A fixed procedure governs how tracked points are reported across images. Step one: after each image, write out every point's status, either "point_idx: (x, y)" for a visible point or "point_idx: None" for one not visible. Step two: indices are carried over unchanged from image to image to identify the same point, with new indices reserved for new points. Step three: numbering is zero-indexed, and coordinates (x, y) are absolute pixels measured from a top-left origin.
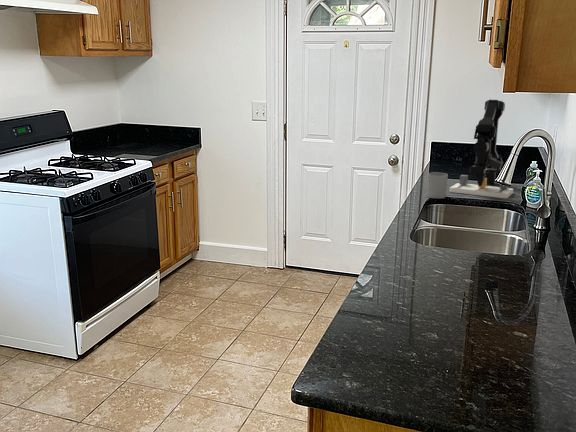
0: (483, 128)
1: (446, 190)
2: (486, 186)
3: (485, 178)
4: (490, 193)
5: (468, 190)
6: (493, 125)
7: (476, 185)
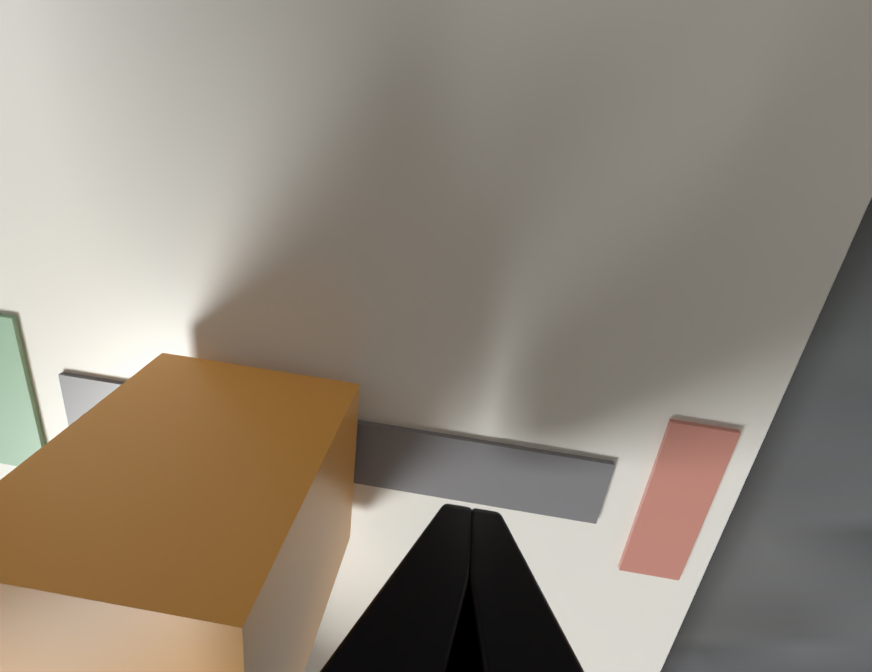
0: None
1: None
2: (33, 346)
3: (70, 625)
4: (863, 135)
5: (653, 654)
6: None
7: None
